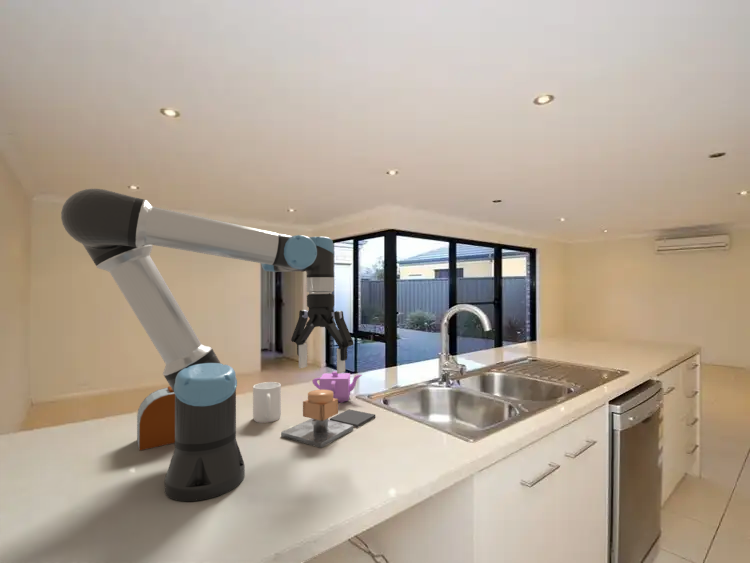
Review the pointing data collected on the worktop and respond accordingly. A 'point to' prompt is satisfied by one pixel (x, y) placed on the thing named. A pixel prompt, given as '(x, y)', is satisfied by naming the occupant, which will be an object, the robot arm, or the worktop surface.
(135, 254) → the robot arm
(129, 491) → the worktop surface
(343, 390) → the teapot
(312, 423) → the post fixture
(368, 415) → the pad
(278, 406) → the cup
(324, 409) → the cap
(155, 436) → the orange rounded block
